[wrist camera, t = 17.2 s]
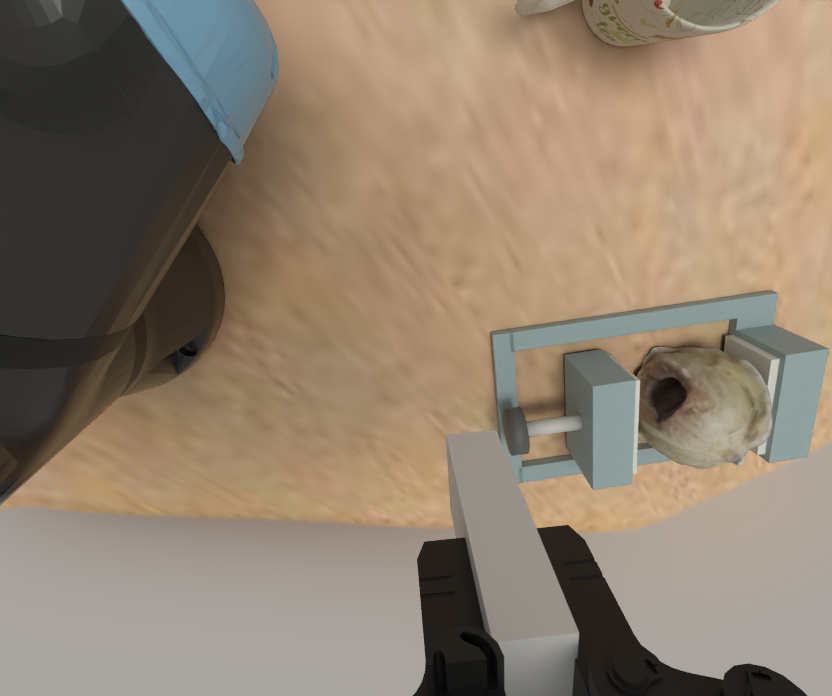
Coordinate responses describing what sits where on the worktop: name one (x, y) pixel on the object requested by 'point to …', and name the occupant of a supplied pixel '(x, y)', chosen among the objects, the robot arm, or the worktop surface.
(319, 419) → the worktop surface
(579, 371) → the jaw
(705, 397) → the garlic bulb
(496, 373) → the vise
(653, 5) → the mug
